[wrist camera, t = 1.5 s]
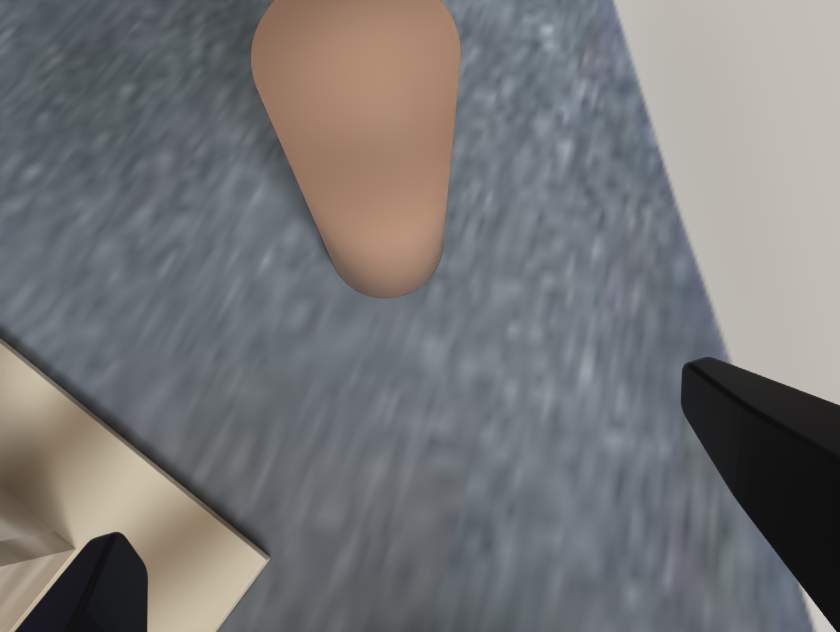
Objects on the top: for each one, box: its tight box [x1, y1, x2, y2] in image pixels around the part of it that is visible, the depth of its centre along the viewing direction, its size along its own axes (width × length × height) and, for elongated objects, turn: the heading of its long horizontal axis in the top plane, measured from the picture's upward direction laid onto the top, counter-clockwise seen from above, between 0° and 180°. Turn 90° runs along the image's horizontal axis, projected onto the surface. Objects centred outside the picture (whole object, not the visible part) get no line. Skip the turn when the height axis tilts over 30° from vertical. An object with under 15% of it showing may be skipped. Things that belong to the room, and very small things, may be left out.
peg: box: [251, 0, 461, 298], centre depth 19 cm, size 5×5×12 cm
